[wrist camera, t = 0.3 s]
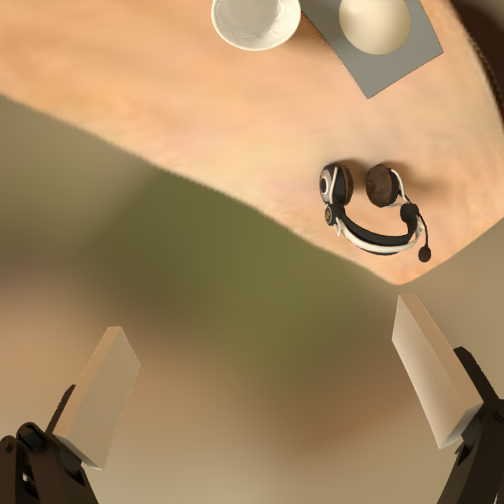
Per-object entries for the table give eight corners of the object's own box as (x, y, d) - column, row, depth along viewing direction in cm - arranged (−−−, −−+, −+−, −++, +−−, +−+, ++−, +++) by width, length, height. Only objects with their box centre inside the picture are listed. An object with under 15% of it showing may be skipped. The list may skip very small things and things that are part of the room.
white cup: (268, -27, 22) (289, -32, 16) (284, 27, 28) (308, 41, 22) (202, -11, 23) (199, -12, 17) (222, 43, 29) (226, 60, 23)
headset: (399, 157, 46) (458, 241, 34) (386, 189, 52) (434, 273, 40) (312, 152, 44) (359, 250, 32) (305, 189, 50) (341, 286, 38)
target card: (282, -10, 24) (283, -10, 24) (378, -60, 17) (380, -60, 16) (366, 98, 37) (367, 99, 36) (441, 51, 29) (443, 52, 29)
